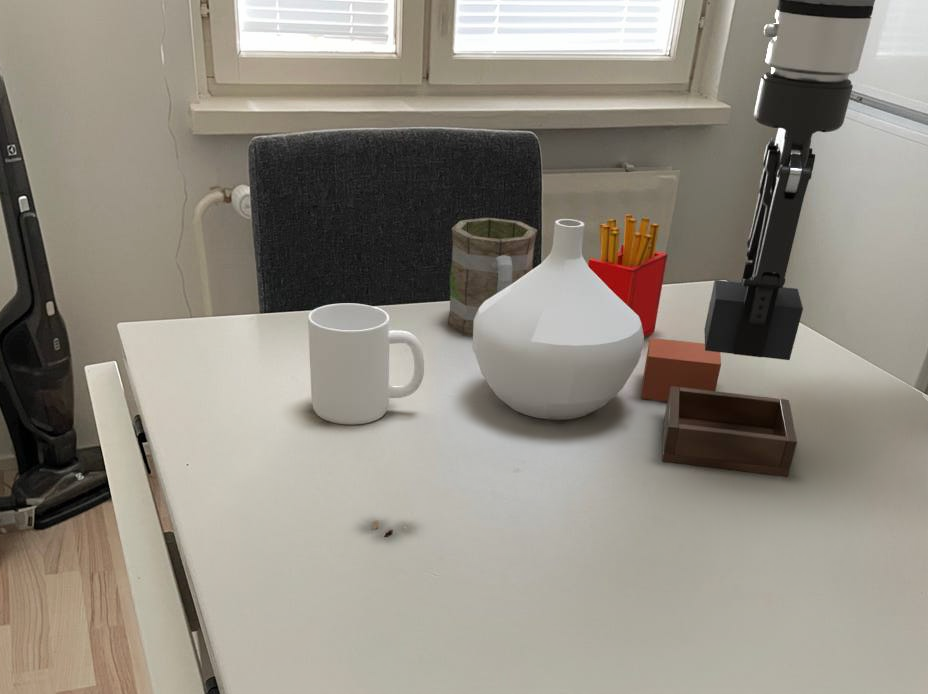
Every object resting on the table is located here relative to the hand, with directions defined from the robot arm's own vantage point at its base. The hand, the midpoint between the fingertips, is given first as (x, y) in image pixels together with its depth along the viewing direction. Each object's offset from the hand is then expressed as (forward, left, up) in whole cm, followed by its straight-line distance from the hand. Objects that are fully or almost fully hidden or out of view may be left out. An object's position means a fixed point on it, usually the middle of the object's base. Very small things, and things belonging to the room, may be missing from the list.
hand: (745, 341), depth 97 cm
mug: (+29, -26, -11) cm, 40 cm away
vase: (+19, -6, -11) cm, 23 cm away
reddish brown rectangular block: (+5, -13, -11) cm, 18 cm away
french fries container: (+13, -29, -11) cm, 34 cm away
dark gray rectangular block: (0, 0, 0) cm, 0 cm away
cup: (+38, +2, -11) cm, 40 cm away
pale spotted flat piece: (+30, +26, -12) cm, 42 cm away
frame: (0, 0, -11) cm, 11 cm away
